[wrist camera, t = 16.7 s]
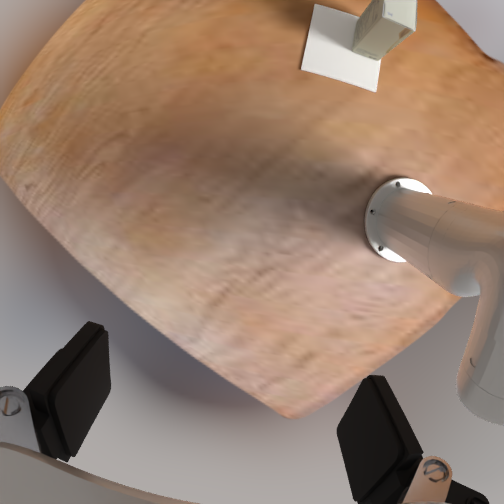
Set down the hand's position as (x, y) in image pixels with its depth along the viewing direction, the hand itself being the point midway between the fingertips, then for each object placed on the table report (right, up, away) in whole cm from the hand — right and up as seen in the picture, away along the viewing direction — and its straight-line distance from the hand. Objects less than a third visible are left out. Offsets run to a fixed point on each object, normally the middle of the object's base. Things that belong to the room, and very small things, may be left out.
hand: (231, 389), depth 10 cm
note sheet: (+14, +34, +25) cm, 44 cm away
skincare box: (+17, +35, +24) cm, 46 cm away
